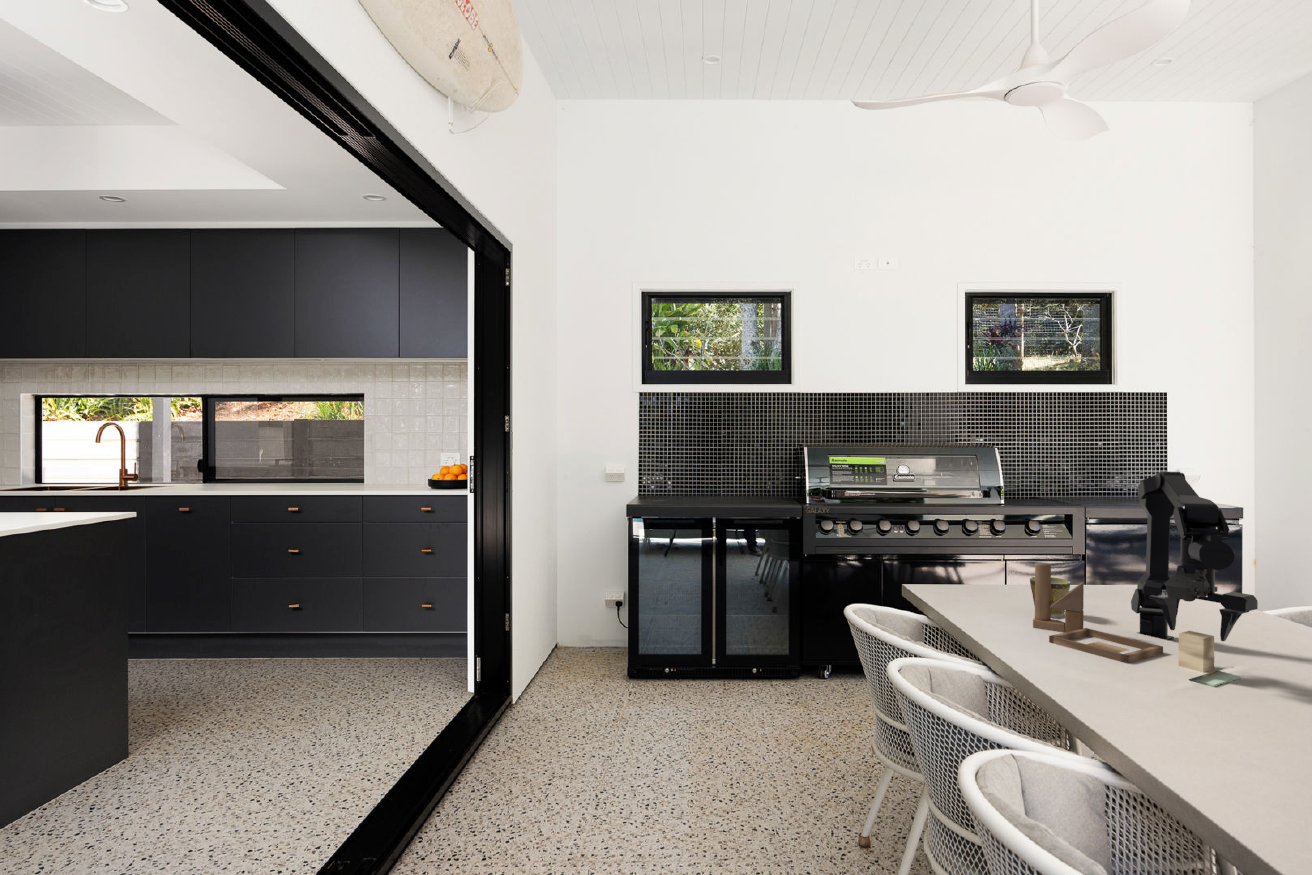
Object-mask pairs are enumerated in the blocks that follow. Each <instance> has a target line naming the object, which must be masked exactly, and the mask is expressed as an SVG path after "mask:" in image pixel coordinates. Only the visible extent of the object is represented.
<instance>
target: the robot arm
mask: <svg viewBox="0 0 1312 875" xmlns="http://www.w3.org/2000/svg"><path fill="white" fill-rule="evenodd" d="M1137 496H1138V499H1139V503H1140V506H1141V507H1142V508H1143V511H1144V512H1145V513H1146V515H1147V519H1146V522H1147V526H1146V549H1145V551H1146V555H1145V572H1144V573H1143V574H1142V576H1141V577H1140V578H1139V579H1138V580H1137V584H1136V585H1137V587H1136V588H1135V590H1134V591H1133V592H1134V593H1133V595H1132V598H1131V600H1130V604H1131V605H1130V606H1131V610H1132V611H1133V612H1135V613H1136V614H1139V632H1137V634H1139V635H1143V636H1148V637H1151V638H1156V639H1160V640H1164V641H1170V640H1174V639H1175V636H1174V635H1173V636H1172V635H1168V631H1169V630H1168V629H1170V631H1175V630H1176V625H1177V616H1178V613H1179V612H1178V611H1179V606H1180V602H1181V600H1182V601H1184V602H1193V601H1196V599H1197V600H1200V601H1201V600H1202V601H1207V602H1212V603H1218V604H1220V605H1221V606H1222V607H1223V608H1219V613H1220V615H1221V621H1220V633H1219V634H1220V641H1221V642H1226V641H1227V639H1228V637H1229V635H1230V633H1231V632H1232V630H1233V628H1234V626H1235V624H1236V622H1238V620H1239V619H1240V617H1241V616H1242V614H1246V613H1250V612H1251V611H1254V610H1258V606H1259V605H1258V599H1257V598H1256V597H1255V595H1254V594H1249V593H1242V592H1235V591H1231V592H1225V593H1218V586H1216V585H1215V581H1216V580H1215V579H1216V577H1215V575H1216V574H1215V573H1218V571H1220V570H1225V569H1227V568H1228V567H1230V566H1231V565H1232V564H1233V562H1234V561H1235V553H1234V551H1233V549H1232V547H1231V546H1230V545H1228V544H1227V543H1225V542H1223V538H1224V539H1225V538H1227V539H1229V532H1230V527H1229V524H1228V523H1227V519H1226V517H1225V515H1224V513H1223V512H1222V510H1221V508H1219V505H1217V503H1216V502H1213V500H1211V499H1208V498H1204V497H1201V496H1199V494H1198V493H1197V492H1196V491H1195V489H1193V487H1192V486H1191V485H1190V484H1189V482H1188V481H1187V480H1186V476H1185V473H1184V472H1180V471H1159V472H1157V473H1155V475H1153V476H1150V477H1147V478H1144V479H1142V480H1141V481H1140V483H1138V486H1137ZM1172 517H1173V521H1174V523H1175V526H1176V528H1177V531H1178V533H1179V536H1180V564H1178V565H1177V568H1176V573H1175V575H1172V576H1171V577H1169V570H1170V569H1169V567H1170V544H1171V543H1170V540H1171V538H1170V537H1171V518H1172ZM1168 627H1169V628H1168Z"/></svg>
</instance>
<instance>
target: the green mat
mask: <svg viewBox="0 0 1312 875" xmlns="http://www.w3.org/2000/svg"><path fill="white" fill-rule="evenodd" d="M1213 672H1214V674H1212V675H1209V676H1206V677H1200V676H1201V675H1198V676H1196V677H1191V678H1189V679H1187V680H1188V681H1191V682H1194V683H1198V684H1202V685H1206V686H1209V685H1210V686H1209V687H1213V686H1214V687H1213V688H1215V686H1216V687H1218V685H1219V686H1221V685H1220V684H1222V685H1224V684H1228V683H1230V682H1234V681H1237V680H1239V679H1241V676H1240V675H1237V674H1232V673H1228V672H1225V671H1221V670H1215V671H1213ZM1233 680H1234V681H1233Z"/></svg>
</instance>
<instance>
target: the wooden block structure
mask: <svg viewBox="0 0 1312 875" xmlns="http://www.w3.org/2000/svg"><path fill="white" fill-rule="evenodd" d="M1034 577H1035V605H1034V618H1033V619H1032V628H1033V629H1038V630H1045V631H1052V632H1057V633H1058V632H1059V633H1065V632H1070V631H1075V630H1080V629H1084V615H1085V614H1084V590H1085V589H1084V584H1085V583H1084V581H1081V582H1080V583H1079V584H1078V585H1076V586H1075V587H1073V588H1072V589H1071V590H1069V592H1068V593H1067V594H1065V595H1064V596H1063V597H1061V598H1060V599H1059V600H1057V601H1056V602H1055V603H1053V604H1052V605H1051V577H1052V564H1051V563H1049V562H1042V561H1041V562H1040V561H1038V562H1035V563H1034ZM1051 608H1055V609H1062V610H1065V612H1064V619H1065V621H1062V620H1059V619H1055V618H1051Z"/></svg>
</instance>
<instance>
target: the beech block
mask: <svg viewBox="0 0 1312 875" xmlns="http://www.w3.org/2000/svg"><path fill="white" fill-rule="evenodd" d="M1178 667H1182V668H1185V669H1189V670H1194V671H1196V672H1197V671H1198V672H1200V673H1205V672H1208V673H1205V674H1201V675H1199V676H1200V677H1206V676H1209V675H1212V674H1214V671H1212V670H1215V636H1214V635H1211V634H1208V633H1207V634H1206V633H1204V632H1203V633H1201V632H1197V631H1192V630H1187V631H1183V632H1182V631H1181V632H1179V633H1178ZM1209 671H1211V672H1209Z"/></svg>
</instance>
